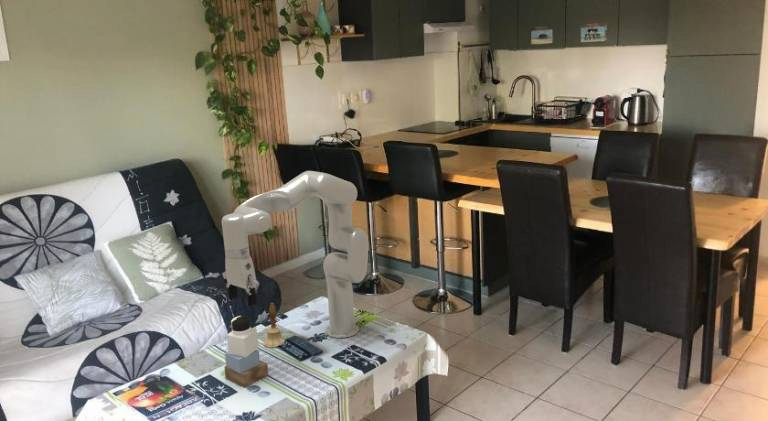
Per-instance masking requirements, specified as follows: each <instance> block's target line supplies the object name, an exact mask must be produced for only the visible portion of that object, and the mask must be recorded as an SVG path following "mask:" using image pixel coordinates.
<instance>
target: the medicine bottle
mask: <svg viewBox="0 0 768 421" xmlns="http://www.w3.org/2000/svg"><path fill="white" fill-rule="evenodd" d="M230 325H231V331H229V333H226V339H227V349H228V350H227V351H229V354H232V355H236V356H241V357H245V358H246V357H247V356H249V355H250V354H251V353H253V352H254V351H255V350H258V349H259V339H258V330H257V329H256V328H252V327H251V319H250V317H249V316H247V315H238V316H235V317H232V319H231V320H230Z"/></svg>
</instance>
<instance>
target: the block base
mask: <svg viewBox="0 0 768 421" xmlns="http://www.w3.org/2000/svg"><path fill="white" fill-rule="evenodd" d="M224 374H225V380H227V381H228V382H231V383H233V384H236V385H238V386H239V387H242V388H244V389H246V388H247V387H250V386H251V385H253V384H255V383H257V382H259V381H261V380H263V379H265V378H266V377H269V369H268V362H266V361H263V360H261V359H260V365H258V366H256V367H254V368H252V369H250V370H247V371H245V372H243V373H241V374H240V373H238V372H236V371H234V370H232V369H230V368H229V367H227V366H226V365H224Z"/></svg>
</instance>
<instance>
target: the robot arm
mask: <svg viewBox="0 0 768 421" xmlns="http://www.w3.org/2000/svg"><path fill="white" fill-rule="evenodd" d="M311 197H317V198H320V200H322V201H323V202H324V204H325V206H326V208H327V210H328V217H329V218H328V244H329V246H330V247H331V248H332V249H335V250H339V251H343V252H345V253H342V252H337V251H334V252H330V253H328V254H327V255H326V257H325V258H324V259H323V263H322V265H323V266H322V267H323V273H324V276H325V282H326V286H327V287H326V288H327V290H326V291H327V301H328V302H327V303H328V321H329V325H328V326H327V327H326V328H325V333H326V335H327V336H328V337H331V338H334V339H335V338H336V339H346V338H350V337H351V338H352V337H353V336H355V335H356V334H358V332H359V330H360V329H359V326H358V324H357V323H358V322H359V321H361V320H362V319H363V316H362V315H361V314H358V315H357V316H355V313H354V312H355V309H354V289H353V284H359V283H361V282H362V281H363V280H364V279H365V277H366V275H367V270H368V263H369V262H368V261H369V260H368V259H369V258H368V256H369V238H368V235H367V233H366V232H365V230H363V229H362V228H360V227H355V226H353V209H352V206H351V205H353V204H354V203H355V202H356V200H357V199H358V198H357V197H358V189H357V187H356V186H355V184H354V183H352V182H351V181H347V180H344V179H343V178H340V177H338V176H335V175H332V174H329V173H325V172H322V171H321V172H320V171H315V170H314V171H313V170H305V171H304V172H301V173H300V174H299V175H297V176H295V177H294V178H292V179H291V180H289V181H288V182H287V183H285V184H283V185H281V186H280V187H278V188H276V189H272V190H269V191H266V192H263V193H261V194H258V195H254V196H253V197H250V198H249V199H247V200H245V201H244V202H242V203H241V204H240V205H238V206H237V207H236V208H235V209H234V211H233V212H232V213H229V214H225V215H224V216H223V217H222V219H221V226H222V235H223V236H222V237H223V246H224V254H225V260H224V262H225V264H224V266H225V268H224V269H225V271H223V272H222V273H221V275H222V277H223V282H224V283H225V284H226V285H225V287H226V288H227V294H228V300H230V301H232V300H234V299H236V298H238V296H239V295H238V288H241V289H244V291H246V293H247V294H246V300H247V306H248V307H252V306H254V305H257V292H258V290H259V286H260V282H259V281H258V280H257V277H256V270H255V267H254V261H253V259H252V257H251V254H250V248H249V245H250V244H249V235H255V234H262V233H264V232H266V231H268V230H269V229H270V227H271V224H272V218H271V215H270V214H271V213H281V212H287V211H292V210H294V209H295V208H297V207H298V206H299V205H301V204H302V203H304V202H305V201H307V200H308V199H310V198H311Z"/></svg>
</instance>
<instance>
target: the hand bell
mask: <svg viewBox="0 0 768 421" xmlns="http://www.w3.org/2000/svg"><path fill="white" fill-rule="evenodd" d="M269 304H270V305H269V308H268V315H269V317H270V328H269V329H267V336H266V339H265V340H264V342H263V346H264V347H265V348H269V349H276V348H275V347H277V346H279V345H280V344H282V343H283V342H284V341H285V340H286V339H285V338H284V337H283V336H282V333H281V330H280V328H279V327H277V325H276V324H277V323H276V316H277V308H276V306H275V302H270V303H269ZM277 348H278V347H277Z"/></svg>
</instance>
